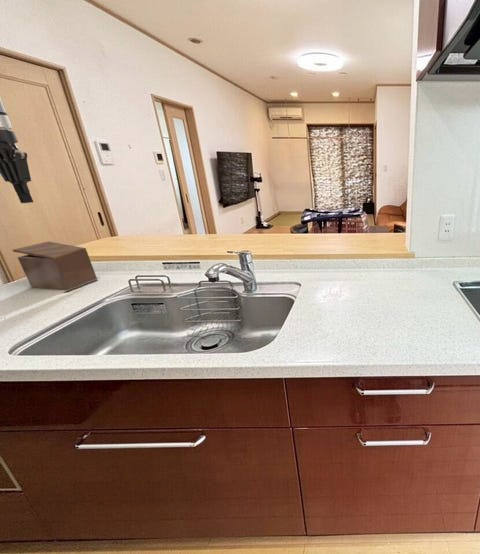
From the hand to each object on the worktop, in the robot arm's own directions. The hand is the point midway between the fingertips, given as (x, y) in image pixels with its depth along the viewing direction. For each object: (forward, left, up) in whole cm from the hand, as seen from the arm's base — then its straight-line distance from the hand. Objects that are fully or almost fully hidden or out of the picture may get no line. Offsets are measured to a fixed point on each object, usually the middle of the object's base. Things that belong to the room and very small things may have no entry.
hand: (27, 202), depth 106 cm
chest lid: (+2, 0, -18) cm, 18 cm away
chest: (+2, 0, -32) cm, 32 cm away
